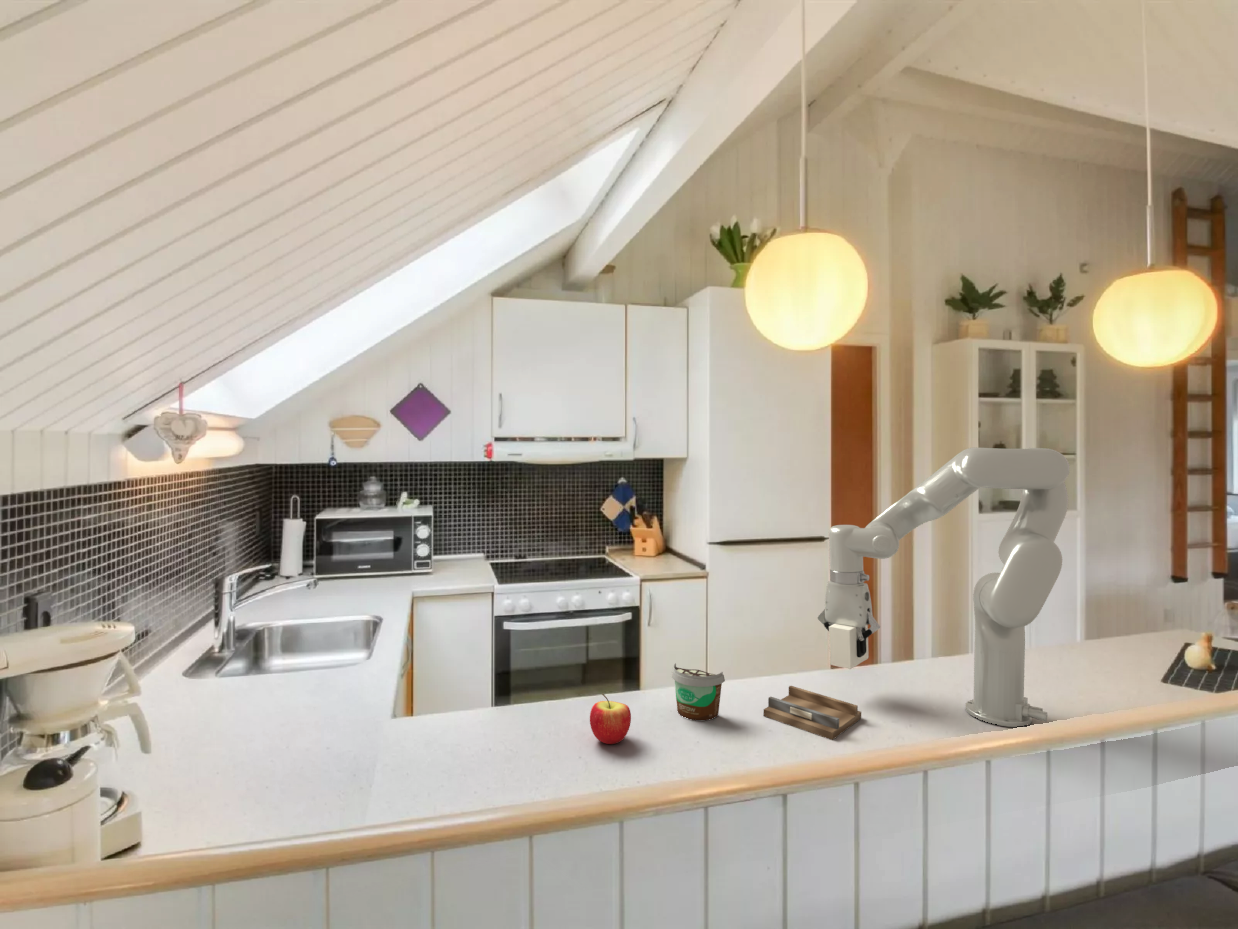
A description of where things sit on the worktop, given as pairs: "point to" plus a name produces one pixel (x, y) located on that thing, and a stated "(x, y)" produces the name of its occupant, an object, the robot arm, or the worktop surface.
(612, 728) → the apple
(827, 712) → the shelf
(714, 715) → the food container
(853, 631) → the box
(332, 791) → the worktop surface
